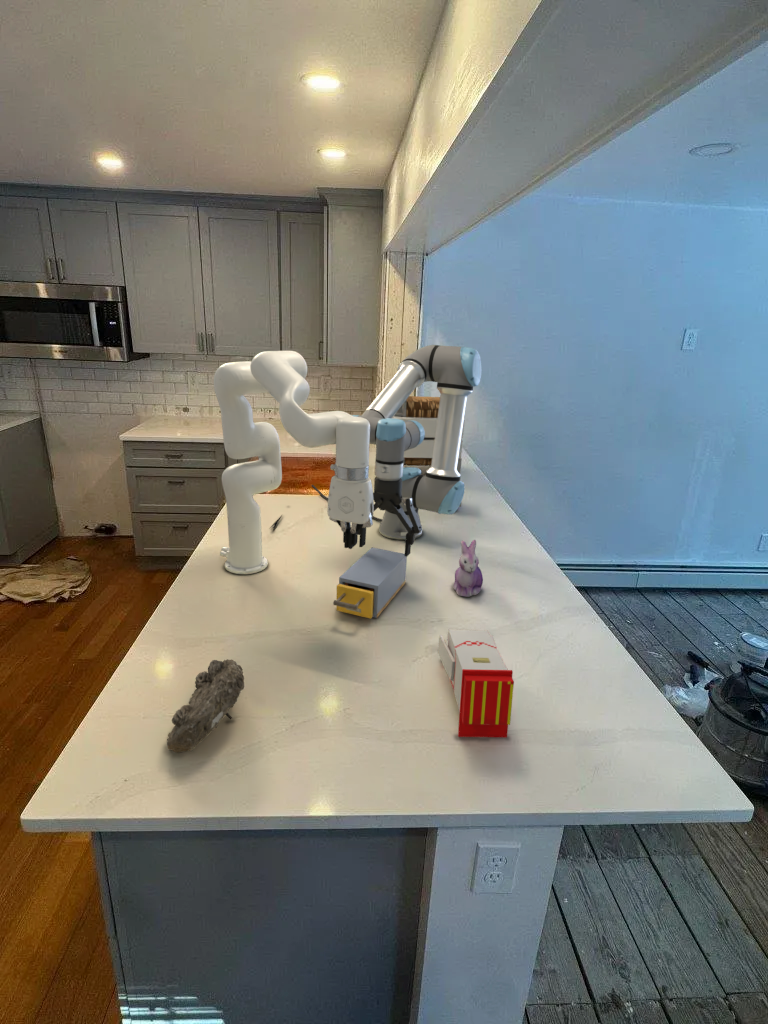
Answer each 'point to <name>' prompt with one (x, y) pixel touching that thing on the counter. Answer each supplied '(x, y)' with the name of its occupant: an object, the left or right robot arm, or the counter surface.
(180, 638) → the counter surface
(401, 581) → the cabinet
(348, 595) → the drawer
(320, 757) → the counter surface
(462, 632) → the toy
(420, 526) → the right robot arm
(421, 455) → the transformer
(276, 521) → the feather
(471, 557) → the figurine
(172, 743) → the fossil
